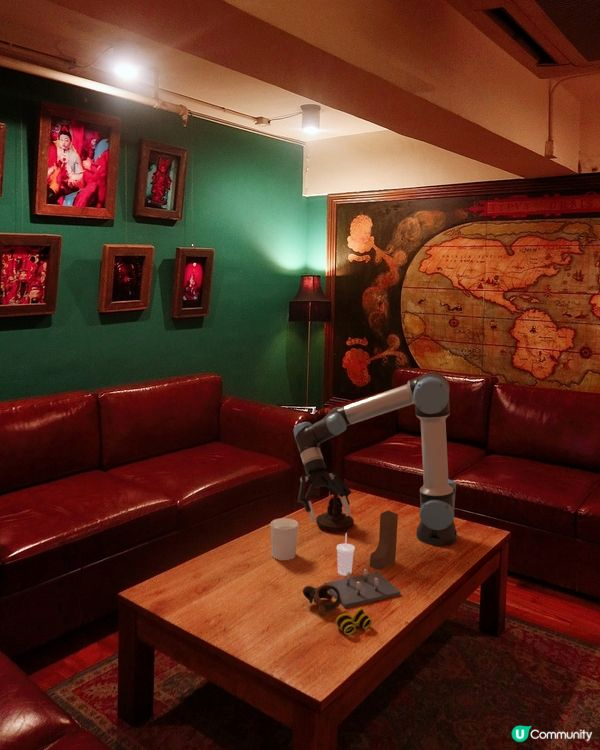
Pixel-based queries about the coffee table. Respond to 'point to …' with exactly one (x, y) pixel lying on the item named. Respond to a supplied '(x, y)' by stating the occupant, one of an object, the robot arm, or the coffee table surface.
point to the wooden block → (385, 541)
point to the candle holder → (284, 538)
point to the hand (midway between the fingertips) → (331, 517)
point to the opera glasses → (353, 622)
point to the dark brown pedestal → (334, 514)
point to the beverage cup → (345, 557)
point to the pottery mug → (322, 593)
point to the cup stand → (363, 589)
